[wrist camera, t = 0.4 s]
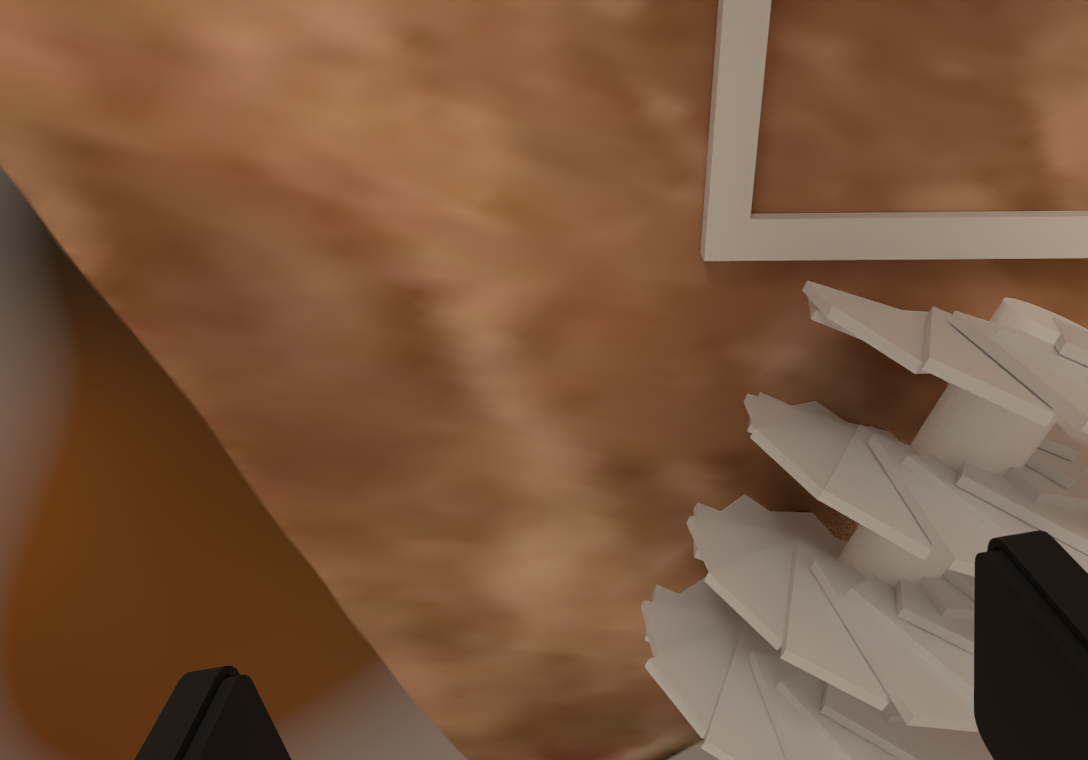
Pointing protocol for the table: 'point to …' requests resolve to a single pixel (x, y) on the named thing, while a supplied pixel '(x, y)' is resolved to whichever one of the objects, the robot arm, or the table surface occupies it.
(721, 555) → the spiral staircase
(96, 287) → the table surface
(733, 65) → the corral
